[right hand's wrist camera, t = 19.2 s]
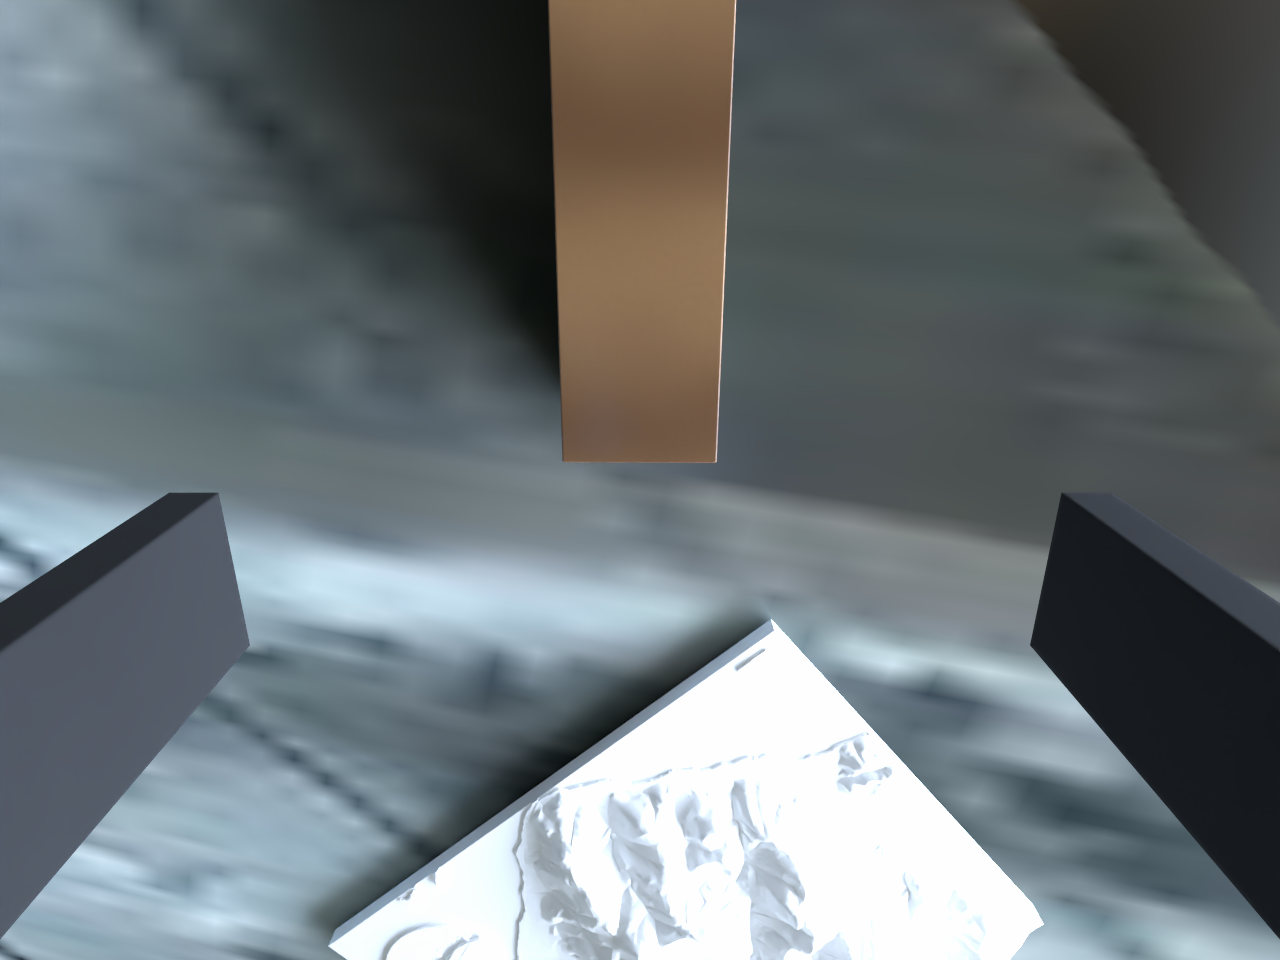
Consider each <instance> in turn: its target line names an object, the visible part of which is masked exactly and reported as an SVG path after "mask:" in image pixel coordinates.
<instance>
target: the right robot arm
mask: <svg viewBox="0 0 1280 960" xmlns="http://www.w3.org/2000/svg"><path fill="white" fill-rule="evenodd" d="M249 646H250V644H249V639H248V634H247V629H246V624H245V619H244V615H243V610H242V605H241V600H240V595H239V590H238V585H237V581H236V576H235V571H234V566H233V561H232V556H231V551H230V547H229V542H228V537H227V532H226V527H225V522H224V517H223V513H222V508H221V503H220V498H219V493H168V494H167V495H165V496H164V497H162V498H161V499H159V500H157V501H156V502H154V503H153V504H151V505H150V506H148V507H147V508H145V509H144V510H142V511H141V512H139V513H138V514H136V515H134V516H133V517H131V518H130V519H128V520H127V521H125V522H124V523H122V524H121V525H119V526H118V527H116V528H115V529H113V530H111V531H110V532H108V533H107V534H105V535H104V536H102V537H101V538H99V539H98V540H96V541H95V542H93V543H92V544H90V545H88V546H87V547H85V548H84V549H82V550H81V551H79V552H78V553H76V554H75V555H73V556H72V557H70V558H69V559H67V560H65V561H64V562H62V563H61V564H59V565H58V566H56V567H55V568H53V569H52V570H50V571H49V572H47V573H46V574H44V575H42V576H41V577H39V578H38V579H36V580H35V581H33V582H32V583H30V584H29V585H27V586H26V587H24V588H23V589H21V590H20V591H18V592H16V593H15V594H13V595H12V596H10V597H9V598H7V599H6V600H4V601H3V602H1V603H0V939H1V938H2V936H3V935H4V934H5V933H6V932H7V931H8V929H9V928H10V927H11V926H12V925H13V923H14V922H15V921H16V920H17V919H18V918H19V916H20V915H21V914H22V913H23V912H24V911H25V909H26V908H27V907H28V906H29V905H30V903H31V902H32V901H33V900H34V899H35V898H36V896H37V895H38V894H39V893H40V892H41V891H42V889H43V888H44V887H45V886H46V885H47V883H48V882H49V881H50V880H51V879H52V878H53V876H54V875H55V874H56V873H57V872H58V870H59V869H60V868H61V867H62V866H63V865H64V863H65V862H66V861H67V860H68V859H69V858H70V856H71V855H72V854H73V853H74V852H75V850H76V849H77V848H78V847H79V846H80V845H81V843H82V842H83V841H84V840H85V839H86V838H87V836H88V835H89V834H90V833H91V832H92V830H93V829H94V828H95V827H96V826H97V825H98V823H99V822H100V821H101V820H102V819H103V817H104V816H105V815H106V814H107V813H108V812H109V810H110V809H111V808H112V807H113V806H114V805H115V803H116V802H117V801H118V800H119V799H120V797H121V796H122V795H123V794H124V793H125V792H126V790H127V789H128V788H129V787H130V786H131V785H132V783H133V782H134V781H135V780H136V779H137V777H138V776H139V775H140V774H141V773H142V772H143V770H144V769H145V768H146V767H147V766H148V765H149V763H150V762H151V761H152V760H153V759H154V757H155V756H156V755H157V754H158V753H159V752H160V750H161V749H162V748H163V747H164V746H165V744H166V743H167V742H168V741H169V740H170V739H171V737H172V736H173V735H174V734H175V733H176V732H177V730H178V729H179V728H180V727H181V726H182V724H183V723H184V722H185V721H186V720H187V719H188V717H189V716H190V715H191V714H192V713H193V712H194V710H195V709H196V708H197V707H198V706H199V704H200V703H201V702H202V701H203V700H204V699H205V697H206V696H207V695H208V694H209V693H210V691H211V690H212V689H213V688H214V687H215V686H216V684H217V683H218V682H219V681H220V680H221V679H222V677H223V676H224V675H225V674H226V673H227V671H228V670H229V669H230V668H231V667H232V666H233V664H234V663H235V662H236V661H237V660H238V659H239V657H240V656H241V655H242V654H243V653H244V651H245V650H246V649H247V648H248V647H249ZM1030 646H1031V647H1032V648H1033V649H1034V650H1035V651H1036V653H1037V654H1038V655H1039V656H1040V657H1041V659H1042V660H1043V661H1044V662H1045V663H1046V664H1047V666H1048V667H1049V668H1050V669H1051V670H1052V671H1053V673H1054V674H1055V675H1056V676H1057V677H1058V679H1059V680H1060V681H1061V682H1062V683H1063V684H1064V686H1065V687H1066V688H1067V689H1068V690H1069V691H1070V693H1071V694H1072V695H1073V696H1074V697H1075V699H1076V700H1077V701H1078V702H1079V703H1080V704H1081V706H1082V707H1083V708H1084V709H1085V710H1086V712H1087V713H1088V714H1089V715H1090V716H1091V717H1092V719H1093V720H1094V721H1095V722H1096V723H1097V724H1098V726H1099V727H1100V728H1101V729H1102V730H1103V732H1104V733H1105V734H1106V735H1107V736H1108V737H1109V739H1110V740H1111V741H1112V742H1113V743H1114V744H1115V746H1116V747H1117V748H1118V749H1119V750H1120V752H1121V753H1122V754H1123V755H1124V756H1125V757H1126V759H1127V760H1128V761H1129V762H1130V763H1131V765H1132V766H1133V767H1134V768H1135V769H1136V770H1137V772H1138V773H1139V774H1140V775H1141V776H1142V777H1143V779H1144V780H1145V781H1146V782H1147V783H1148V785H1149V786H1150V787H1151V788H1152V789H1153V790H1154V792H1155V793H1156V794H1157V795H1158V796H1159V797H1160V799H1161V800H1162V801H1163V802H1164V803H1165V805H1166V806H1167V807H1168V808H1169V809H1170V810H1171V812H1172V813H1173V814H1174V815H1175V816H1176V817H1177V819H1178V820H1179V821H1180V822H1181V823H1182V825H1183V826H1184V827H1185V828H1186V829H1187V830H1188V832H1189V833H1190V834H1191V835H1192V836H1193V838H1194V839H1195V840H1196V841H1197V842H1198V843H1199V845H1200V846H1201V847H1202V848H1203V849H1204V850H1205V852H1206V853H1207V854H1208V855H1209V856H1210V858H1211V859H1212V860H1213V861H1214V862H1215V863H1216V865H1217V866H1218V867H1219V868H1220V869H1221V870H1222V872H1223V873H1224V874H1225V875H1226V876H1227V878H1228V879H1229V880H1230V881H1231V882H1232V883H1233V885H1234V886H1235V887H1236V888H1237V889H1238V891H1239V892H1240V893H1241V894H1242V895H1243V896H1244V898H1245V899H1246V900H1247V901H1248V902H1249V903H1250V905H1251V906H1252V907H1253V908H1254V909H1255V911H1256V912H1257V913H1258V914H1259V915H1260V916H1261V918H1262V919H1263V920H1264V921H1265V922H1266V923H1267V925H1268V926H1269V927H1270V928H1271V929H1272V931H1273V932H1274V933H1275V934H1276V935H1277V936H1278V938H1279V939H1280V603H1279V602H1277V601H1276V600H1274V599H1273V598H1271V597H1270V596H1268V595H1267V594H1265V593H1264V592H1262V591H1260V590H1259V589H1257V588H1256V587H1254V586H1253V585H1251V584H1250V583H1248V582H1247V581H1245V580H1244V579H1242V578H1241V577H1239V576H1238V575H1236V574H1234V573H1233V572H1231V571H1230V570H1228V569H1227V568H1225V567H1224V566H1222V565H1221V564H1219V563H1218V562H1216V561H1215V560H1213V559H1211V558H1210V557H1208V556H1207V555H1205V554H1204V553H1202V552H1201V551H1199V550H1198V549H1196V548H1195V547H1193V546H1192V545H1190V544H1188V543H1187V542H1185V541H1184V540H1182V539H1181V538H1179V537H1178V536H1176V535H1175V534H1173V533H1172V532H1170V531H1169V530H1167V529H1165V528H1164V527H1162V526H1161V525H1159V524H1158V523H1156V522H1155V521H1153V520H1152V519H1150V518H1149V517H1147V516H1146V515H1144V514H1142V513H1141V512H1139V511H1138V510H1136V509H1135V508H1133V507H1132V506H1130V505H1129V504H1127V503H1126V502H1124V501H1123V500H1121V499H1119V498H1118V497H1116V496H1115V495H1113V494H1112V493H1061V498H1060V503H1059V508H1058V513H1057V517H1056V522H1055V527H1054V532H1053V537H1052V542H1051V547H1050V551H1049V556H1048V561H1047V566H1046V571H1045V576H1044V581H1043V585H1042V590H1041V595H1040V600H1039V605H1038V610H1037V615H1036V619H1035V624H1034V629H1033V634H1032V639H1031V644H1030Z"/></svg>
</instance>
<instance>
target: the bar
mask: <svg viewBox="0 0 1280 960" xmlns="http://www.w3.org/2000/svg"><path fill="white" fill-rule="evenodd" d="M735 17H736V0H548V21H549V52H550V84H551V115H552V146H553V178H554V209H555V241H556V272H557V303H558V335H559V366H560V397H561V429H562V460H563V462H658V463H716V461H717V440H718V417H719V393H720V370H721V346H722V323H723V299H724V276H725V252H726V228H727V205H728V181H729V158H730V134H731V111H732V87H733V64H734V40H735Z"/></svg>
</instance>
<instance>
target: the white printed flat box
mask: <svg viewBox="0 0 1280 960" xmlns="http://www.w3.org/2000/svg"><path fill="white" fill-rule="evenodd" d="M1041 925H1043V922H1042V920H1041V919H1040V917H1039V915H1038V913H1037V911H1036V909H1035V908H1034V906H1033V904H1032V903H1031V902H1030V901H1029V900H1028V899H1027V898H1026V897H1025V896H1024V894H1023V893H1022V892H1021V891H1020V890H1019V889H1018V888H1017V887H1016V886H1015V885H1014V884H1013V882H1012V881H1011V880H1010V879H1009V878H1008V877H1007V876H1006V875H1005V874H1004V873H1003V872H1002V870H1001V869H1000V868H999V867H998V866H997V865H996V864H995V863H994V862H993V861H992V860H991V858H990V857H989V856H988V855H987V854H986V853H985V852H984V851H983V850H982V849H981V848H980V846H979V845H978V844H977V843H976V842H975V841H974V840H973V839H972V838H971V837H970V836H969V834H968V833H967V832H966V831H965V830H964V829H963V828H962V827H961V826H960V825H959V824H958V822H957V821H956V820H955V819H954V818H953V817H952V816H951V815H950V814H949V813H948V812H947V810H946V809H945V808H944V807H943V806H942V805H941V804H940V803H939V802H938V801H937V800H936V798H935V797H934V796H933V795H932V794H931V793H930V792H929V791H928V790H927V789H926V788H925V786H924V785H923V784H922V783H921V782H920V781H919V780H918V779H917V778H916V777H915V776H914V774H913V773H912V772H911V771H910V770H909V769H908V768H907V767H906V766H905V765H904V764H903V762H902V761H901V760H900V759H899V758H898V757H897V756H896V755H895V754H894V753H893V752H892V750H891V749H890V748H889V747H888V746H887V745H886V744H885V743H884V742H883V741H882V740H881V738H880V737H879V736H878V735H877V734H876V733H875V732H874V731H873V730H872V729H871V728H870V726H869V725H868V724H867V723H866V722H865V721H864V720H863V719H862V718H861V717H860V716H859V714H858V713H857V712H856V711H855V710H854V709H853V708H852V707H851V706H850V705H849V704H848V702H847V701H846V700H845V699H844V698H843V697H842V696H841V695H840V694H839V693H838V692H837V690H836V689H835V688H834V687H833V686H832V685H831V684H830V683H829V682H828V681H827V680H826V678H825V677H824V676H823V675H822V674H821V673H820V672H819V671H818V670H817V669H816V668H815V666H814V665H813V664H812V663H811V662H810V661H809V660H808V659H807V658H806V657H805V656H804V654H803V653H802V652H801V651H800V650H799V649H798V648H797V647H796V646H795V645H794V644H793V642H792V641H791V640H790V639H789V638H788V637H787V636H786V635H785V634H784V633H783V632H782V630H781V629H780V628H779V627H778V626H777V625H776V624H775V623H774V622H773V621H772V620H771V619H770V620H769V621H767V622H766V623H765V624H763V625H762V626H760V627H759V628H758V629H756V630H755V631H753V632H752V633H751V634H749V635H748V636H746V637H745V638H744V639H742V640H741V641H739V642H738V643H737V644H735V645H734V646H732V647H731V648H730V649H728V650H727V651H725V652H724V653H722V654H721V655H720V656H718V657H717V658H715V659H714V660H713V661H711V662H710V663H708V664H707V665H706V666H704V667H703V668H701V669H700V670H699V671H697V672H696V673H694V674H693V675H692V676H690V677H689V678H687V679H686V680H685V681H683V682H682V683H680V684H679V685H678V686H676V687H675V688H673V689H672V690H671V691H669V692H668V693H666V694H665V695H664V696H662V697H661V698H659V699H658V700H657V701H655V702H654V703H652V704H651V705H650V706H648V707H647V708H645V709H644V710H643V711H641V712H640V713H638V714H637V715H636V716H634V717H633V718H631V719H630V720H629V721H627V722H626V723H624V724H623V725H621V726H620V727H619V728H617V729H616V730H614V731H613V732H612V733H610V734H609V735H607V736H606V737H605V738H603V739H602V740H600V741H599V742H598V743H596V744H595V745H593V746H592V747H591V748H589V749H588V750H586V751H585V752H584V753H582V754H581V755H579V756H578V757H577V758H575V759H574V760H572V761H571V762H570V763H568V764H567V765H565V766H564V767H563V768H561V769H560V770H558V771H557V772H556V773H554V774H553V775H551V776H550V777H549V778H547V779H546V780H544V781H543V782H542V783H540V784H539V785H537V786H536V787H535V788H533V789H532V790H530V791H529V792H528V793H526V794H525V795H523V796H522V797H520V798H519V799H518V800H516V801H515V802H513V803H512V804H511V805H509V806H508V807H506V808H505V809H504V810H502V811H501V812H499V813H498V814H497V815H495V816H494V817H492V818H491V819H490V820H488V821H487V822H485V823H484V824H483V825H481V826H480V827H478V828H477V829H476V830H474V831H473V832H471V833H470V834H469V835H467V836H466V837H464V838H463V839H462V840H460V841H459V842H457V843H456V844H455V845H453V846H452V847H450V848H449V849H448V850H446V851H445V852H443V853H442V854H441V855H439V856H438V857H436V858H435V859H434V860H432V861H431V862H429V863H428V864H427V865H425V866H424V867H422V868H421V869H419V870H418V871H417V872H415V873H414V874H412V875H411V876H410V877H408V878H407V879H405V880H404V881H403V882H401V883H400V884H398V885H397V886H396V887H394V888H393V889H391V890H390V891H389V892H387V893H386V894H384V895H383V896H382V897H380V898H379V899H377V900H376V901H375V902H373V903H372V904H370V905H369V906H368V907H366V908H365V909H363V910H362V911H361V912H359V913H358V914H356V915H355V916H354V917H352V918H351V919H349V920H348V921H347V922H345V923H344V924H342V925H341V926H340V927H338V928H337V929H335V931H334V934H333V936H332V939H331V941H330V944H329V947H330V948H332V949H333V950H334V951H336V952H337V953H339V954H340V955H341V956H343V957H344V958H345V959H347V960H1009V959H1010V958H1011V957H1012V955H1013V954H1014V953H1015V952H1016V951H1017V950H1018V949H1019V948H1020V947H1021V945H1022V944H1023V942H1024V940H1025V938H1026V937H1027V935H1028V934H1029V933H1030V932H1032V931H1033V930H1034V929H1036V928H1038V927H1040V926H1041Z"/></svg>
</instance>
